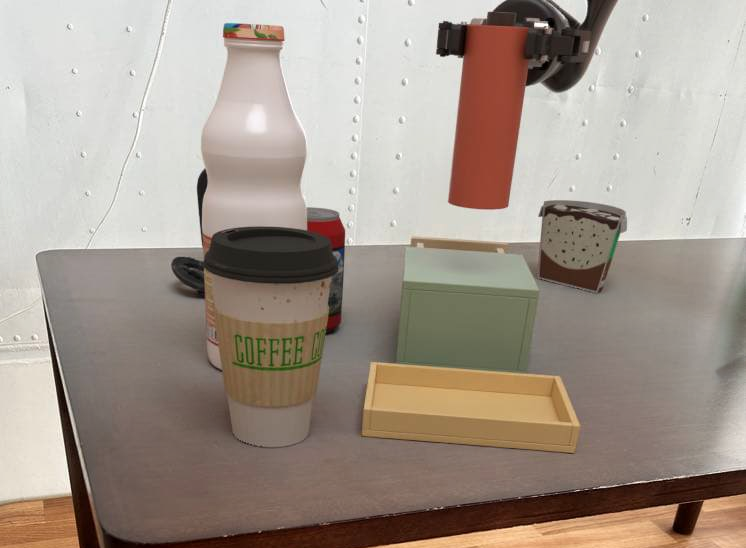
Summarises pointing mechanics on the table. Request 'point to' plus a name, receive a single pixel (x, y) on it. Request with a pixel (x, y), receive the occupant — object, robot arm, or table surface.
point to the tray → (469, 407)
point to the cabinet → (466, 310)
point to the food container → (578, 242)
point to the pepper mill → (489, 113)
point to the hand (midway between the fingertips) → (492, 41)
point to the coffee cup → (270, 326)
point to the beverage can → (333, 229)
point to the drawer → (459, 244)
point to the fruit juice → (251, 148)
